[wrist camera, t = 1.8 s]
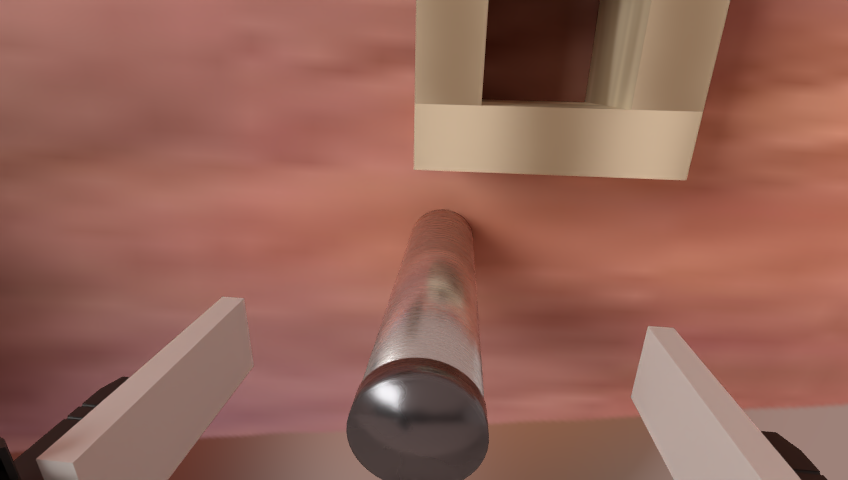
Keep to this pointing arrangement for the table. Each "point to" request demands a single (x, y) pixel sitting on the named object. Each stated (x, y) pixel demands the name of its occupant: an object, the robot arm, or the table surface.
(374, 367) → the glass vial with cap
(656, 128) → the hollow square frame
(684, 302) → the table surface
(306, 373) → the table surface
